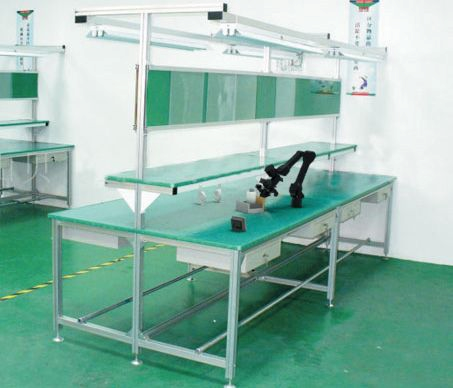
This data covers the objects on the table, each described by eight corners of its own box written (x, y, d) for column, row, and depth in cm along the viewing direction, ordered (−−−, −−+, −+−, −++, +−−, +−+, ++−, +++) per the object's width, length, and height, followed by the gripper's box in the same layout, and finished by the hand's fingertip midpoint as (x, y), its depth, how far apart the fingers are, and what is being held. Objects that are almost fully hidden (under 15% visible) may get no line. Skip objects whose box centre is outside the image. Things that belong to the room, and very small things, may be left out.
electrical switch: (246, 230, 362) (246, 216, 360) (242, 233, 358) (242, 218, 356) (233, 228, 366) (233, 214, 364) (229, 230, 363) (229, 216, 360)
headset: (216, 201, 446) (217, 175, 443) (223, 202, 442) (224, 176, 439) (195, 204, 432) (196, 177, 429) (202, 206, 427) (203, 179, 424)
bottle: (255, 208, 421) (256, 188, 418) (255, 209, 415) (256, 189, 412) (246, 207, 421) (247, 187, 419) (245, 209, 415) (246, 189, 413)
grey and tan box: (252, 207, 426) (253, 194, 425) (263, 211, 417) (264, 198, 415) (238, 208, 420) (239, 195, 419) (249, 212, 410) (250, 199, 409)
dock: (252, 208, 427) (252, 198, 426) (264, 212, 417) (265, 202, 415) (235, 209, 419) (236, 200, 418) (247, 213, 409) (248, 203, 408)
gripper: (258, 171, 428) (243, 189, 424) (276, 175, 413) (261, 194, 409) (266, 183, 434) (252, 200, 430) (284, 187, 419) (270, 205, 415)
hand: (258, 199), depth 421 cm, fingers closed, pressing on grey and tan box
